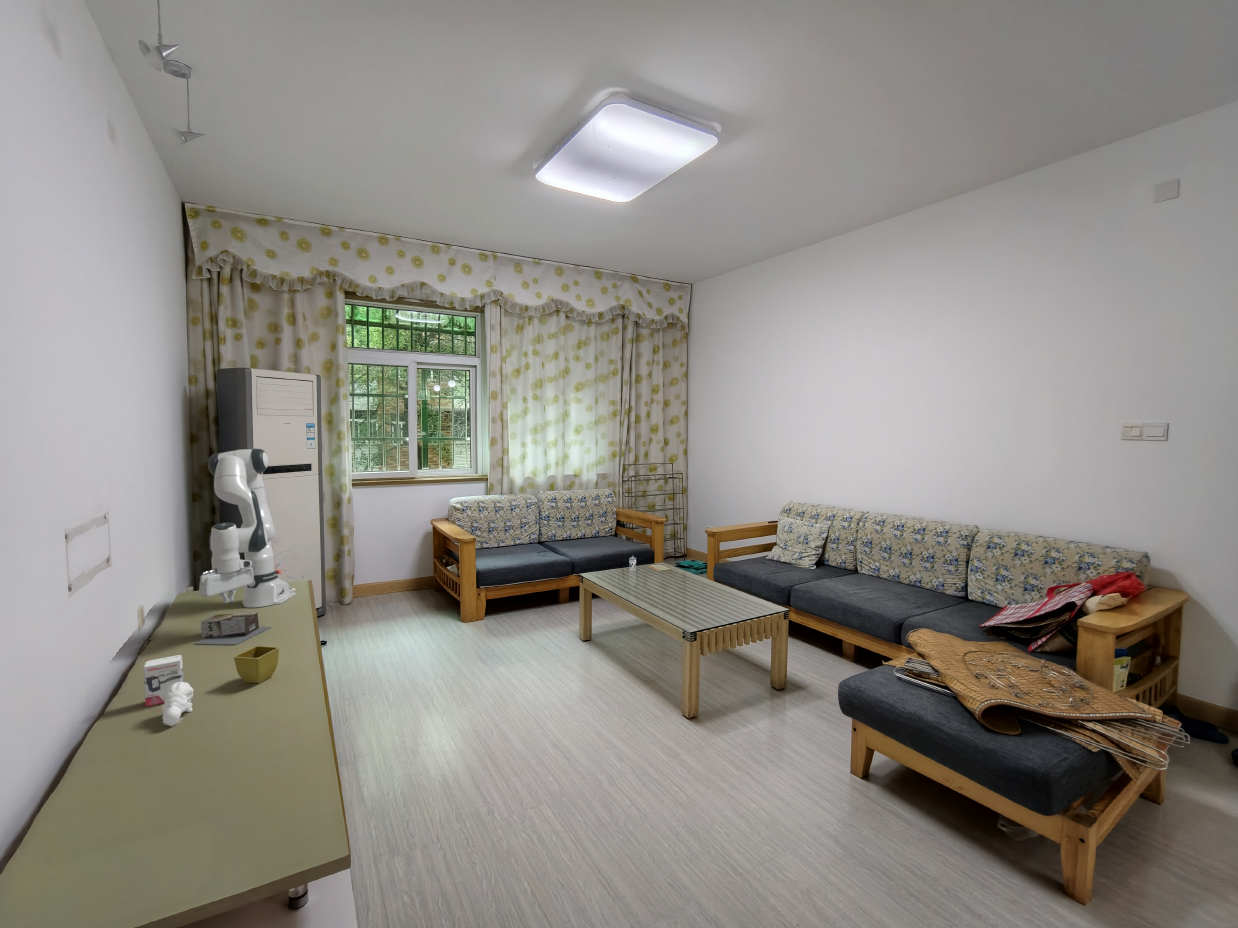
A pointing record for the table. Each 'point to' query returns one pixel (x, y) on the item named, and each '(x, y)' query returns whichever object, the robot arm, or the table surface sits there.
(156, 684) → the ink box
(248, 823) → the table surface
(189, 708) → the white figurine
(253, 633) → the mat
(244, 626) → the coffee box
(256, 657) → the flower pot
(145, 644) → the table surface
